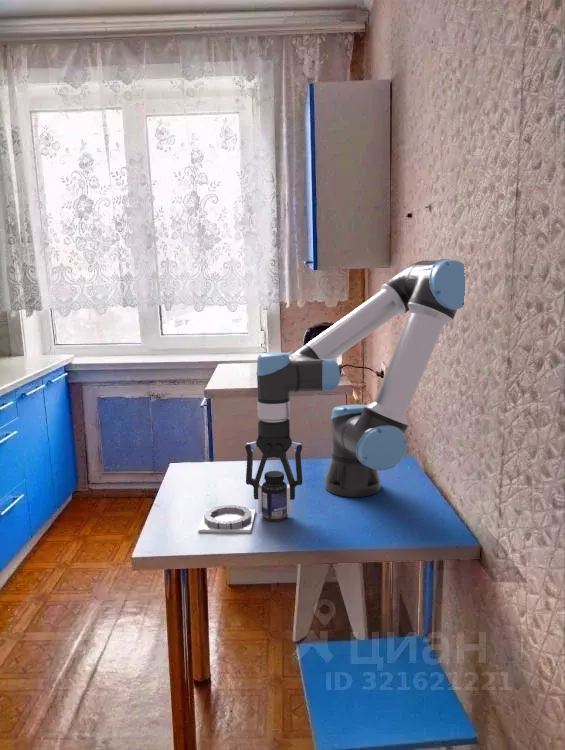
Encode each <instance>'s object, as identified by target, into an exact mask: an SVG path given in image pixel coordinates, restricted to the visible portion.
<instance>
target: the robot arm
mask: <svg viewBox="0 0 565 750" xmlns="http://www.w3.org/2000/svg"><path fill="white" fill-rule="evenodd" d="M464 264H465V263H463V262H461V261H460V260H459V261H458V260H456V259H455V260H454V259H449V258H442V259H439V260H438V259H437V260H436V259H435V260H420V261H417V262H414V263H413V264H411V265H409V266H406V267H405V268H404V269H402V270H401V271H400V272H398V273H397V274H396V275H394V276H392V277H391V278H390V279H389V280H387V281H386V282H384V283H383V284H382V285H381V286H380V291H379V292H377V293H376V294H374V295H373V296H372V297H370V298H369V299H367V300H366V301H364V302H363V303H362V304H361V305H360V304H359V306H358V307H356V308H355V309H354V310H352V311H351V312H349V313H348V314H347V315H345V316H344V317H342V318H341V319H340V320H338V321H336V322H335V323H334V324H333V325H331V326H330V327H328V328H327V329H325V330H324V331H323V332H321V333H319V334H318V335H317V336H316V337H314V338H313V339H312V340H310V341H308V343H306V344H304V345H303V346H301V347H300V348H299V349H297V350H293V351H288V352H281V351H277V352H275V351H269V352H263V353H260V354H258V357H257V359H256V360H257V364H256V383H257V387H256V389H257V401H256V404H257V405H256V406H257V417H258V420H257V438H256V441H252V442H250V441H247V442H246V444H245V446H244V447H245V451H246V454H247V455H246V456H247V457H246V469H245V471H246V473H245V484H246V485H248V486H249V485H250V486H252V487H253V499H254V500H258V502H257V503H258V515H262V485H263V483H260V482H261V478H262V476H263V471H264V469H265V466H266V462H267V460H268V459H270V458H275V459H276V458H277V459H279V460H280V462H281V465H282V468H283V470H284V474H285V476H286V480H287V481H288V482H287V483H288V484H287V483H286V485H287V515H291V501H294V500H295V498H296V487H297V486H301V485H303V469H302V468H303V467H302V466H303V465H302V456H301V455H302V454H301V453H302V449H303V442H301V441H299V442H295V441H293V439H291V438H292V437H291V433H290V428H291V426H290V424H291V423H290V419H289V418H290V414H291V413H290V412H291V411H290V404H291V403H290V394H291V393H294V394H295V393H308V392H309V393H310V392H325V391H326V392H328V391H334V390H336V389H337V388H338V386H339V384H340V379H341V378H340V377H341V375H340V372H341V371H340V367H339V366H340V365H338V362H337V361H336V360H335V359H337V358H338V357H340V356H341V355H342V354H344V353H345V352H347V351H348V350H349V349H351V348H352V347H354V346H355V345H356V344H358V343H359V342H361V341H362V340H363V339H365V338H366V337H368V336H369V335H370V334H372V333H373V332H375V331H376V330H377V329H379V328H380V327H382V326H384V324H386V323H388V322H389V321H390V320H391V319H393V318H394V317H396V316H397V315H400V316H403V315H405V314H407V313H408V311H409V317H407V321H406V323H405V325H404V328H403V330H402V333H401V335H400V338H399V340H398V342H397V345H396V347H395V350H394V352H393V353H392V356H391V359H390V361H389V364H388V365H387V368H386V370H385V373H384V376H383V378H382V381H381V383H380V385H379V388H378V390H377V391H376V394H375V396H374V399H373V401H372V402H370V403H367V404H343V405H342V404H341V405H338V406H335V407H333V409H332V411H331V418H330V421H331V423H330V424H331V428H330V429H331V433H330V434H331V437H330V438H331V439H330V440H331V441H330V442H331V460H330V463H329V466H328V470H327V473H326V475H325V479H324V487H325V490H327V492H329V493H331V494H333V495H336V496H341V497H345V498H346V497H348V498H361V497H369V496H372V495H375V494H377V493H379V492H380V491H381V478H380V474H379V471H381V472H383V471H388V470H390V469H393V468H395V467H396V466H397V465H399V464H400V463H401V462H402V461H403V459H404V458H405V456H406V453H407V451H408V442H407V437H406V435H405V434H406V432H407V429H408V427H409V422H408V418H407V413H408V411H409V408H410V406H411V404H412V401H413V400H414V397H415V394H416V393H417V392H416V391H417V389H418V387H419V385H420V383H421V379H422V378H423V375H424V373H425V371H426V369H427V365H428V364H429V362H430V359H431V356H432V354H433V352H434V349H435V347H436V344H437V342H438V340H439V337H440V335H441V333H442V330H443V327H444V326H446V325H448V324H450V323H452V322H453V320H454V318H455V316H456V314H457V311H458V310H459V309H462V308H463V307H464V306H463V305H464V296H465V292H464V291H465V276H464V275H465V273H464V270H465V269H464ZM256 447H257V448H258V449H259V451H260V452H261V454H262V456H261V460H260V463H259V464H258V465H259V466H258V468H257V471H256V475H255V478H253V468H254V467H253V466H254V452H255V451H256ZM291 447H292V451H293V452H294V453H295V454H294V456H295V457H294V458H295V459H294V460H295V469H296V478H294V475H293V472H292V468H291V466H290V463H289V460H288V456H287V452H288V450H289V449H290V448H291Z"/></svg>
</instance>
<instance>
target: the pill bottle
mask: <svg viewBox="0 0 565 750" xmlns="http://www.w3.org/2000/svg"><path fill="white" fill-rule="evenodd" d="M284 480H285V472H283V471H279V470H270V471H266V472H265V473H264V482H263V483H262V514H261V515H262V516H261V517H262V519H263V520H264V521H268V522H281V521H282V522H283V521H284V520H286V519H288V514H287V483H286V482H285V481H284Z"/></svg>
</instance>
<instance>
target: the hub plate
mask: <svg viewBox="0 0 565 750" xmlns="http://www.w3.org/2000/svg"><path fill="white" fill-rule="evenodd" d="M256 510H257V509H256V508H254V509H253V508H252V509H251V508H248V507H246V506H242V505H235V504H226V505H219V506H214V507H211V508H207V509H206V511H205V512H204V516H203V518H202V519H201V522H200V525H199V526H198V528H197V532H198V533H211V534H214V533H216V534H217V533H219V534H251V532H252V530H253V525H254V521H255V517H256Z"/></svg>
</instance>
